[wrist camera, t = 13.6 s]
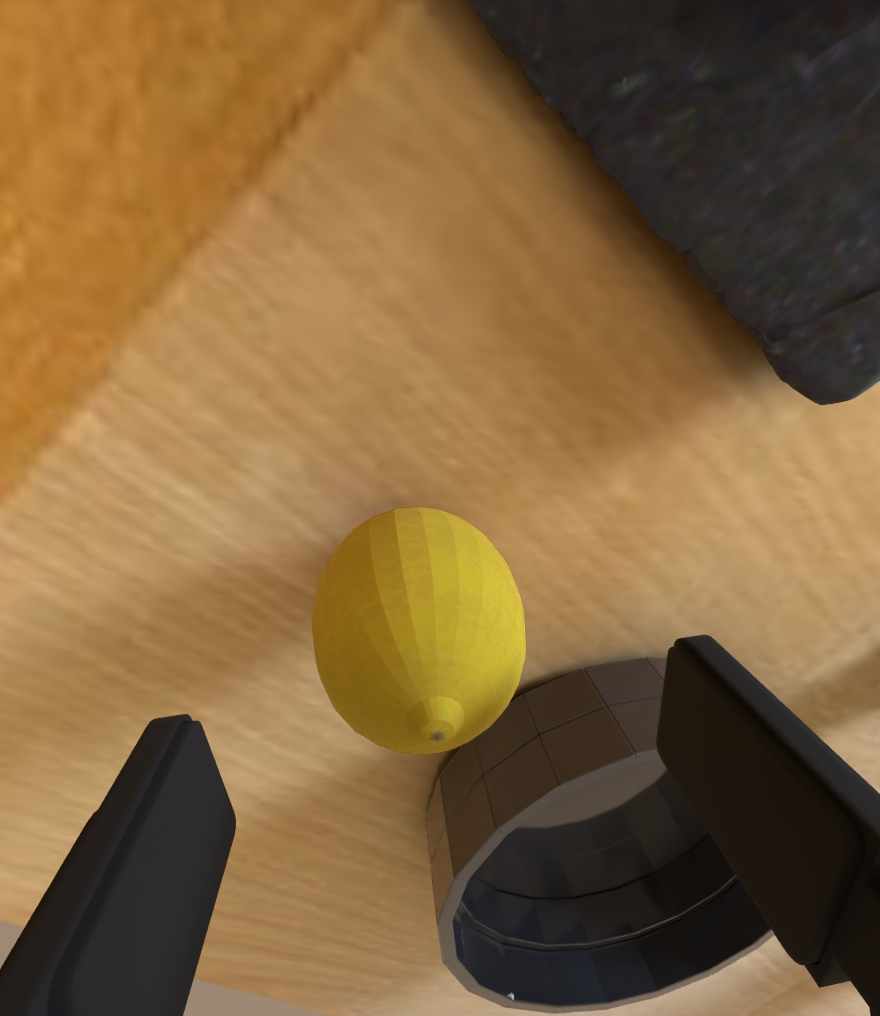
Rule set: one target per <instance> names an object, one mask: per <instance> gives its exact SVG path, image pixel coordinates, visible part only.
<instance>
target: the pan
mask: <svg viewBox="0 0 880 1016" xmlns="http://www.w3.org/2000/svg"><path fill="white" fill-rule="evenodd" d="M666 663H667V660H666V659H657V658H648V657H646V658H639V659H633V660H627V661H621V662H615V663H609V664H603V665H597V666H591V667H585V668H584V669H579V670H577V671H575V672H572V673H570V674H567V675H564V676H561V677H559V678H557V679H554V680H552V681H550V682H548V683H545V684H543V685H541V686H538V687H537V688H535V689H533V690H530V691H528V692H526V693H524V694H521V695H520V696H519V697H517V698H516V699H515V700H513V701H512V702H511V703H509V704H508V706H507V707H506V709H505V710H504V711H503V713H502V714H501V715H500V716H499V717H498V718H497V719H496V720H495V722H494V723H493V724H492V725H491V726H490V727H489V728H488V729H486V730H485V731H483V732H482V733H481V734H479V735H478V736H477V737H475V738H474V739H472V740H471V741H469V742H467V743H465V744H463V745H462V746H461V747H460V748H459V749H458V751H457V752H456V753H455V755H454V756H453V757H452V759H451V760H450V761H449V762H448V764H447V765H446V766H445V768H444V769H443V770H442V771H441V773H440V774H439V776H438V779H437V782H436V785H435V788H434V792H433V795H432V798H431V801H430V804H429V807H428V810H427V814H426V818H425V819H426V828H427V837H428V846H429V856H430V865H431V874H432V883H433V893H434V902H435V911H436V920H437V928H438V935H439V942H440V948H441V955H442V961H443V963H444V964H445V965H446V967H447V968H448V969H449V970H450V971H451V972H452V973H453V975H454V976H455V977H456V978H457V979H458V980H459V982H460V983H461V984H462V985H463V986H464V987H465V989H466V990H468V991H469V992H471V993H473V994H476V995H478V996H480V997H482V998H485V999H487V1000H489V1001H491V1002H494V1003H496V1004H498V1005H500V1006H503V1007H506V1008H514V1009H521V1010H529V1011H537V1012H544V1013H554V1014H555V1013H568V1012H581V1011H594V1010H604V1009H605V1010H606V1009H610V1008H614V1007H618V1006H623V1005H627V1004H631V1003H635V1002H639V1001H643V1000H647V999H651V998H655V997H658V996H661V995H664V994H666V993H669V992H671V991H673V990H676V989H678V988H681V987H683V986H686V985H688V984H691V983H693V982H696V981H698V980H701V979H703V978H706V977H708V976H710V975H713V974H715V973H716V972H718V971H720V970H721V969H723V968H725V967H727V966H728V965H730V964H732V963H733V962H735V961H737V960H739V959H740V958H742V957H744V956H745V955H747V954H749V953H751V952H752V951H754V950H756V949H757V948H759V947H760V946H761V945H763V944H764V943H765V942H766V941H767V940H769V939H770V938H771V937H772V936H774V935H775V934H774V932H773V931H772V929H771V928H770V926H769V925H768V923H767V922H766V920H765V919H764V917H763V916H762V914H761V913H760V911H759V909H758V908H757V906H756V905H755V903H754V902H753V900H752V899H751V897H750V896H749V894H748V893H747V891H746V889H745V888H744V886H743V885H742V883H741V882H740V880H739V879H738V877H737V876H736V874H735V873H734V871H733V869H732V868H731V866H730V865H729V863H728V862H727V860H726V859H725V857H724V856H723V854H722V853H721V851H720V849H719V848H718V846H717V845H716V843H715V842H714V840H713V839H712V837H711V836H710V834H709V833H708V831H707V830H706V828H705V826H704V825H703V823H702V822H701V820H700V819H699V817H698V816H697V814H696V813H695V811H694V810H693V808H692V806H691V805H690V803H689V802H688V800H687V799H686V797H685V796H684V794H683V793H682V791H681V790H680V788H679V786H678V785H677V783H676V782H675V780H674V779H673V777H672V776H671V774H670V773H669V771H668V770H667V768H666V766H665V765H664V763H663V762H662V760H661V758H660V756H659V754H658V750H657V746H656V738H657V731H658V723H659V716H660V708H661V700H662V693H663V685H664V678H665V670H666Z"/></svg>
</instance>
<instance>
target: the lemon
mask: <svg viewBox="0 0 880 1016" xmlns="http://www.w3.org/2000/svg"><path fill="white" fill-rule="evenodd" d="M312 631H313V640H314V648H315V656H316V663H317V668H318V672H319V675H320V678H321V681H322V683H323V685H324V688H325V690H326V692H327V694H328V696H329V698H330V700H331V702H332V704H333V706H334V708H335V710H336V711H337V712H338V713H339V714H340V715H341V716H342V718H343V719H344V720H345V721H346V722H347V723H348V724H349V725H350V726H351V727H352V728H353V729H354V731H356V732H357V733H359V734H361V735H362V736H364V737H365V738H367V739H369V740H370V741H372V742H373V743H375V744H377V745H378V746H381V747H384V748H387V749H390V750H393V751H396V752H401V753H410V754H433V753H439V752H443V751H447V750H451V749H454V748H457V747H459V746H461V745H463V744H465V743H467V742H469V741H471V740H472V739H474V738H475V737H477V736H478V735H479V734H481V733H482V732H483V731H485V730H486V729H488V728H489V727H490V726H491V725H492V724H493V723H494V722H495V720H496V719H497V718H498V717H499V716H500V715H501V714H502V713H503V711H504V710H505V709H506V707H507V706H508V704H509V702H510V700H511V698H512V697H513V695H514V693H515V691H516V689H517V686H518V684H519V681H520V677H521V673H522V669H523V665H524V660H525V653H526V639H525V621H524V612H523V606H522V602H521V598H520V595H519V592H518V590H517V587H516V584H515V582H514V579H513V577H512V574H511V572H510V569H509V567H508V565H507V563H506V562H505V560H504V559H503V557H502V556H501V555H500V554H499V552H498V551H497V550H496V548H495V547H494V546H493V545H492V543H491V542H490V541H489V540H488V538H487V537H486V536H485V535H484V534H482V533H481V532H480V531H479V530H477V529H476V528H474V527H473V526H472V525H470V524H469V523H468V522H466V521H465V520H464V519H462V518H460V517H457V516H455V515H452V514H450V513H447V512H444V511H442V510H438V509H430V508H422V507H409V508H400V509H394V510H391V511H388V512H385V513H382V514H380V515H377V516H374V517H372V518H371V519H369V520H368V521H366V522H365V523H363V524H361V525H360V526H358V527H357V528H355V529H354V530H353V531H352V532H351V533H350V534H349V535H348V536H347V538H346V539H345V540H344V541H343V542H342V543H341V544H340V545H339V546H338V547H337V548H336V549H335V551H334V553H333V554H332V556H331V558H330V560H329V562H328V564H327V566H326V568H325V570H324V572H323V574H322V576H321V578H320V581H319V584H318V588H317V593H316V599H315V604H314V610H313V617H312Z"/></svg>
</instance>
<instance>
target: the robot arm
mask: <svg viewBox="0 0 880 1016" xmlns="http://www.w3.org/2000/svg"><path fill="white" fill-rule="evenodd" d="M656 746H657V750H658V754H659V756H660V758H661V760H662V762H663V763H664V765H665V766H666V768H667V770H668V771H669V773H670V774H671V776H672V777H673V779H674V780H675V782H676V783H677V785H678V786H679V788H680V790H681V791H682V793H683V794H684V796H685V797H686V799H687V800H688V802H689V803H690V805H691V806H692V808H693V810H694V811H695V813H696V814H697V816H698V817H699V819H700V820H701V822H702V823H703V825H704V826H705V828H706V830H707V831H708V833H709V834H710V836H711V837H712V839H713V840H714V842H715V843H716V845H717V846H718V848H719V849H720V851H721V853H722V854H723V856H724V857H725V859H726V860H727V862H728V863H729V865H730V866H731V868H732V869H733V871H734V873H735V874H736V876H737V877H738V879H739V880H740V882H741V883H742V885H743V886H744V888H745V889H746V891H747V893H748V894H749V896H750V897H751V899H752V900H753V902H754V903H755V905H756V906H757V908H758V909H759V911H760V913H761V914H762V916H763V917H764V919H765V920H766V922H767V923H768V925H769V926H770V928H771V929H772V931H773V932H774V934H775V936H776V937H777V939H778V940H779V942H780V943H781V945H782V946H783V948H784V949H785V951H786V952H787V953H788V955H789V956H790V957H791V958H792V959H793V960H794V961H795V962H796V963H798V964H799V965H805V967H806V968H807V970H808V971H809V973H810V974H811V976H812V977H813V979H814V980H815V982H816V983H817V985H818V986H819V988H821V987H825V986H829V985H834V984H838V983H843V982H847V981H851V982H852V984H853V985H854V986H855V988H856V989H857V991H858V992H859V993H860V995H861V996H862V997H863V999H864V1000H865V1002H866V1003H867V1004H868V1006H869V1007H870V1014H871V1016H880V794H879V793H878V792H877V791H876V790H875V789H874V788H873V787H872V786H871V785H870V784H868V783H867V782H866V781H865V780H864V779H863V778H862V777H861V776H860V775H859V774H858V773H857V772H856V771H855V770H853V769H852V768H851V767H850V766H849V765H848V764H847V763H846V762H845V761H844V760H843V759H842V758H841V757H840V756H838V755H837V754H836V753H835V752H834V751H833V750H832V749H831V748H830V747H829V746H828V745H827V744H826V743H825V742H823V741H822V740H821V739H820V738H819V737H818V736H817V735H816V734H815V733H814V732H813V731H812V730H811V729H810V728H808V727H807V726H806V725H805V724H804V723H803V722H802V721H801V720H800V719H799V718H798V717H797V716H796V715H795V714H794V713H792V712H791V711H790V710H789V709H788V708H787V707H786V706H785V705H784V704H783V703H782V702H781V701H780V700H779V699H777V698H776V697H775V696H774V695H773V694H772V693H771V692H770V691H769V690H768V689H767V688H766V687H765V686H764V685H762V684H761V683H760V682H759V681H758V680H757V679H756V678H755V677H754V676H753V675H752V674H751V673H750V672H749V671H747V670H746V669H745V668H744V667H743V666H742V665H741V664H740V663H739V662H738V661H737V660H736V659H735V658H734V657H732V656H731V655H730V654H729V653H728V652H727V651H726V650H725V649H724V648H723V647H722V646H721V645H720V644H719V643H717V642H716V641H715V640H714V639H713V638H712V637H710V636H708V635H699V636H692V637H686V638H680V639H677V640H676V641H675V644H674V647H671V648H670V649H669V650H668V655H667V663H666V670H665V678H664V685H663V693H662V700H661V708H660V716H659V723H658V731H657V738H656ZM235 828H236V818H235V813H234V810H233V807H232V805H231V802H230V799H229V797H228V794H227V791H226V789H225V786H224V783H223V781H222V778H221V775H220V773H219V770H218V767H217V765H216V762H215V759H214V757H213V754H212V751H211V749H210V746H209V743H208V741H207V738H206V735H205V733H204V730H203V727H202V725H201V723H200V722H199V721H193V720H192V719H191V717H190V716H189V715H188V714H183V715H176V716H170V717H163V718H156V719H153V720H152V721H150V723H149V724H148V725H147V727H146V728H145V730H144V732H143V734H142V735H141V737H140V739H139V740H138V742H137V744H136V746H135V747H134V749H133V751H132V752H131V754H130V756H129V758H128V759H127V761H126V763H125V764H124V766H123V768H122V770H121V771H120V773H119V775H118V776H117V778H116V780H115V782H114V783H113V785H112V787H111V788H110V790H109V792H108V794H107V795H106V797H105V799H104V800H103V802H102V804H101V806H100V807H99V809H98V810H97V811H96V812H95V813H94V814H93V815H92V816H91V818H90V819H89V820H88V822H87V823H86V825H85V827H84V828H83V830H82V832H81V833H80V835H79V837H78V838H77V840H76V842H75V843H74V845H73V847H72V849H71V850H70V852H69V854H68V855H67V857H66V859H65V860H64V862H63V864H62V865H61V867H60V869H59V870H58V872H57V874H56V876H55V877H54V879H53V881H52V882H51V884H50V886H49V887H48V889H47V891H46V892H45V894H44V896H43V898H42V899H41V901H40V903H39V904H38V906H37V908H36V909H35V911H34V913H33V914H32V916H31V918H30V920H29V921H28V923H27V925H26V926H25V928H24V930H23V931H22V933H21V935H20V937H19V938H18V940H17V942H16V943H15V945H14V947H13V948H12V950H11V952H10V953H9V955H8V957H7V959H6V960H5V962H4V964H3V965H2V967H1V969H0V1016H183V1014H184V1010H185V1007H186V1003H187V1000H188V996H189V993H190V989H191V986H192V982H193V979H194V975H195V972H196V968H197V965H198V961H199V958H200V954H201V951H202V947H203V944H204V940H205V937H206V933H207V930H208V926H209V923H210V919H211V916H212V912H213V909H214V905H215V902H216V898H217V895H218V891H219V888H220V884H221V881H222V877H223V874H224V870H225V867H226V863H227V860H228V856H229V853H230V849H231V846H232V842H233V839H234V835H235Z"/></svg>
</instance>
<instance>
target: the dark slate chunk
mask: <svg viewBox="0 0 880 1016" xmlns="http://www.w3.org/2000/svg"><path fill="white" fill-rule="evenodd" d="M469 2H470V3H471V5H472V7H473V8H474V10H475V11H476V13H477V14H478V16H479V18H480V19H481V21H482V22H483V24H484V25H485V27H486V28H487V30H488V31H489V33H490V34H491V35H492V37H493V38H494V40H495V42H496V43H497V45H498V46H499V48H500V49H501V50H502V51H503V53H504V54H505V55H507V56H508V57H510V58H513V59H516V60H519V61H520V63H521V66H522V69H523V72H524V74H525V77H526V79H527V82H528V84H529V85H530V87H531V88H532V89H533V91H535V92H536V93H537V94H538V95H540V96H541V97H542V99H543V100H544V102H545V104H547V105H548V106H550V107H552V108H554V109H556V110H557V111H558V112H559V114H560V116H561V117H562V120H563V122H564V124H565V127H566V129H567V131H568V132H570V133H571V134H573V135H574V136H576V137H577V138H579V139H580V140H582V141H583V142H585V143H586V144H587V145H588V146H589V148H590V150H591V152H592V154H593V156H594V158H595V160H596V162H597V164H598V166H599V167H600V168H601V169H603V170H604V171H606V172H608V173H610V174H611V175H612V176H613V177H614V178H615V179H616V180H617V181H618V183H619V184H620V185H621V186H622V187H623V188H624V189H625V191H626V192H627V193H628V194H629V196H630V197H631V199H632V200H633V202H634V203H635V205H636V207H637V209H638V211H639V212H640V214H641V215H642V217H643V218H644V219H645V220H646V221H647V222H648V224H649V225H650V227H651V228H652V230H653V231H654V233H655V234H656V235H657V236H658V237H660V238H661V239H663V240H665V241H666V242H668V243H669V244H670V245H671V246H672V248H673V249H674V250H675V252H676V253H679V252H682V253H683V256H684V259H685V262H686V264H687V266H688V269H689V270H690V272H691V273H692V275H693V276H694V277H695V278H696V279H697V280H698V281H700V282H701V283H702V284H703V285H704V286H706V287H707V288H708V290H709V291H710V292H712V293H715V294H716V296H717V298H718V299H719V301H720V302H721V303H722V304H723V305H724V306H725V307H726V308H727V309H728V311H729V313H730V314H731V315H732V317H733V318H734V319H736V320H737V321H738V322H740V323H741V324H743V325H744V326H745V327H746V328H747V329H748V330H749V332H750V333H751V334H752V335H753V336H754V337H755V338H756V339H757V341H758V343H759V345H760V347H761V349H762V351H763V353H764V355H765V357H766V358H767V360H768V361H769V363H770V364H771V366H772V367H773V369H774V370H775V372H776V374H777V375H778V377H779V378H780V379H781V380H782V381H783V382H786V383H788V384H789V385H790V386H791V387H792V388H793V389H795V390H796V391H798V392H799V393H801V394H802V395H804V396H805V397H807V398H808V399H810V400H811V401H813V402H815V403H817V404H820V405H826V404H833V403H839V402H844V401H848V400H851V399H853V398H855V397H857V396H858V395H860V394H861V393H863V392H864V391H866V390H867V389H869V388H870V387H872V386H873V385H875V384H876V383H877V382H879V381H880V0H469Z"/></svg>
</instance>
